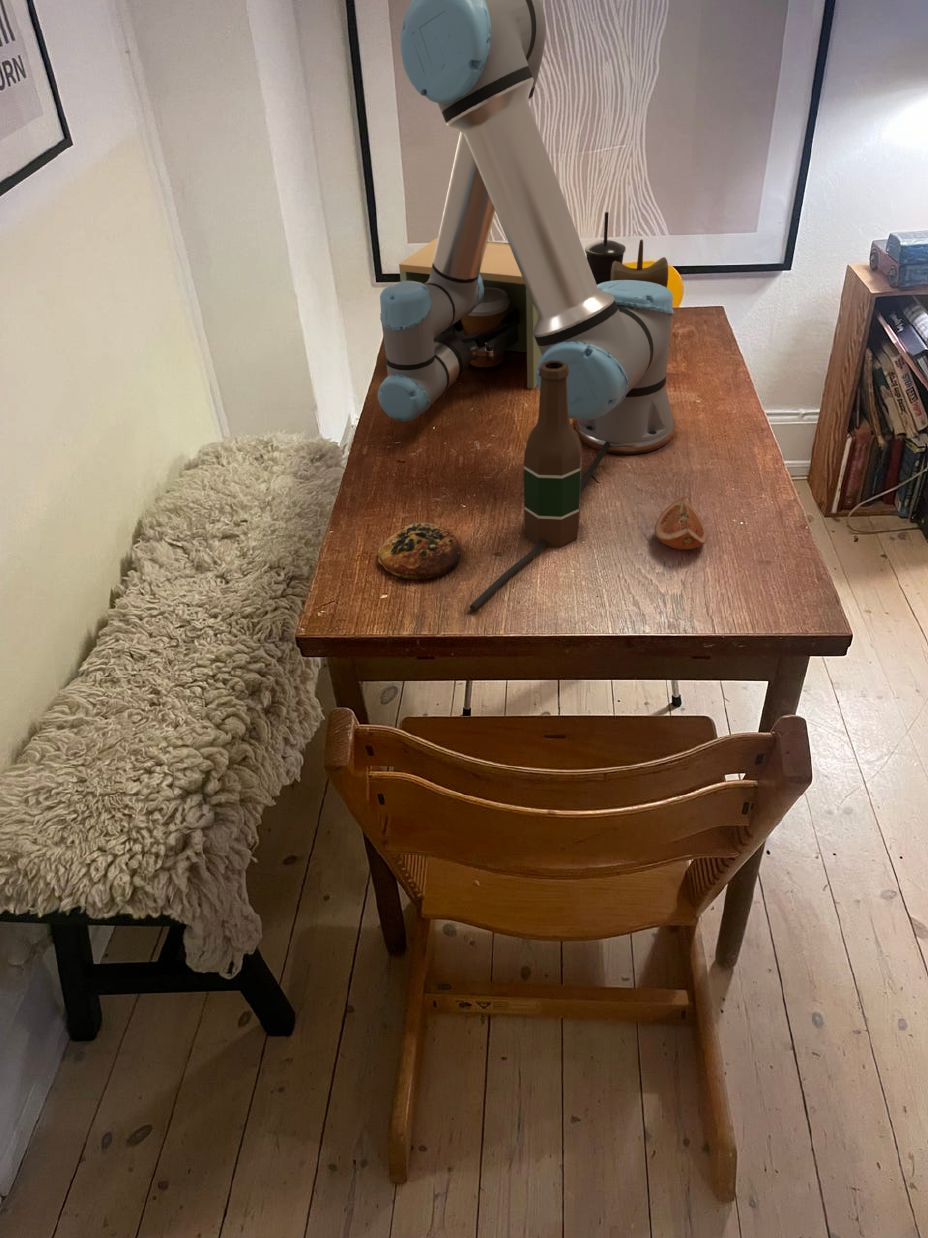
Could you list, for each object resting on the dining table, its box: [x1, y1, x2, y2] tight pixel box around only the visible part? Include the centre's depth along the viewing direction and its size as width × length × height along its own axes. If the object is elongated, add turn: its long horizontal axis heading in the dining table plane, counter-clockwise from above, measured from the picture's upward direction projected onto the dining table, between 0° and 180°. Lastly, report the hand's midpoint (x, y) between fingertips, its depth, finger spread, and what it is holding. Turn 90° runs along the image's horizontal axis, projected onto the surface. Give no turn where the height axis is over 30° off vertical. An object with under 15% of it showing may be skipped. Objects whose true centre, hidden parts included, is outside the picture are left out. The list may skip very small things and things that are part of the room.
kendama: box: [611, 239, 669, 288], centre depth 162 cm, size 6×10×20 cm, turn 89°
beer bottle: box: [523, 360, 583, 548], centre depth 116 cm, size 8×8×24 cm
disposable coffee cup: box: [461, 287, 510, 368], centre depth 163 cm, size 10×10×12 cm
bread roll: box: [377, 522, 462, 580], centre depth 120 cm, size 11×11×5 cm
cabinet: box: [398, 236, 542, 390], centre depth 162 cm, size 15×24×19 cm, turn 65°
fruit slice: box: [654, 496, 708, 550], centre depth 118 cm, size 8×7×5 cm
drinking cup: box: [584, 211, 627, 285], centre depth 174 cm, size 8×8×20 cm
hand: (494, 313), depth 166 cm, fingers closed on disposable coffee cup, 8 cm apart
